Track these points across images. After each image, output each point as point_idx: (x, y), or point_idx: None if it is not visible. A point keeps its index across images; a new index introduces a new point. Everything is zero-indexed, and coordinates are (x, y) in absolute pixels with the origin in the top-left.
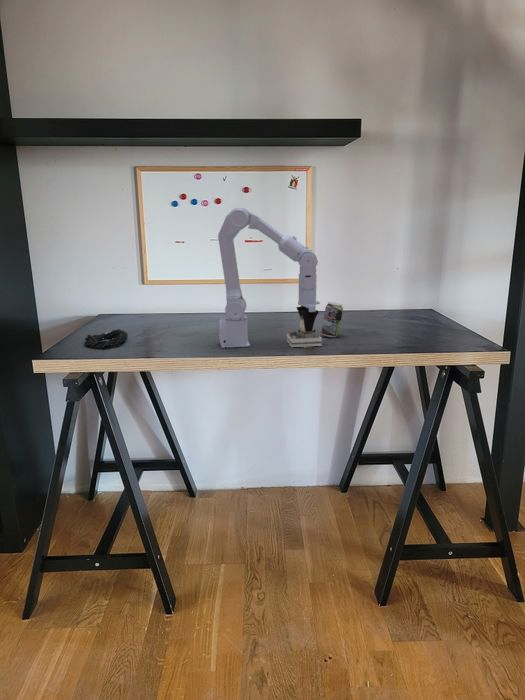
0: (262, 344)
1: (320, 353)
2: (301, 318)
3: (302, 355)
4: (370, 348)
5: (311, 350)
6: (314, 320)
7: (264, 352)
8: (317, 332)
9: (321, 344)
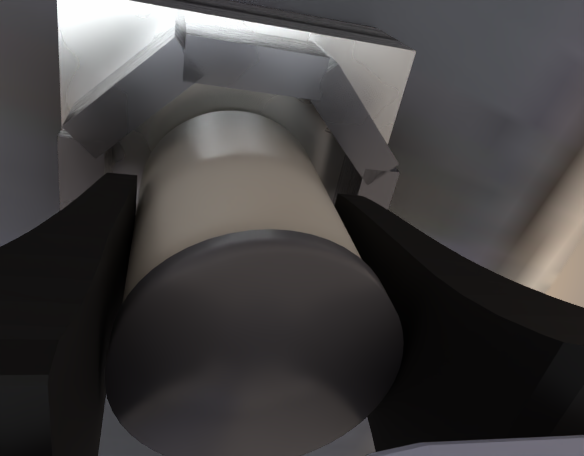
0: (121, 444)
1: (560, 134)
2: (299, 437)
3: (519, 272)
4: None
5: (442, 173)
6: (487, 273)
7: (333, 446)
8: (362, 103)
9: (383, 34)
